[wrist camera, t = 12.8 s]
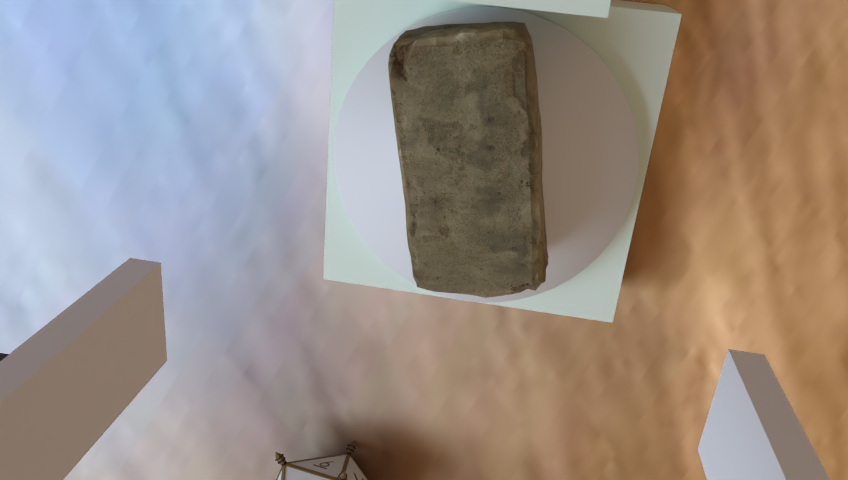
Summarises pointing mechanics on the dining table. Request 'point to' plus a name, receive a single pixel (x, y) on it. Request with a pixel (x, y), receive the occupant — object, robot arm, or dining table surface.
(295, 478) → the game die
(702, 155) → the dining table surface
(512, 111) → the stone block
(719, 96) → the dining table surface
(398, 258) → the scale
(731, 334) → the dining table surface
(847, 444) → the dining table surface
